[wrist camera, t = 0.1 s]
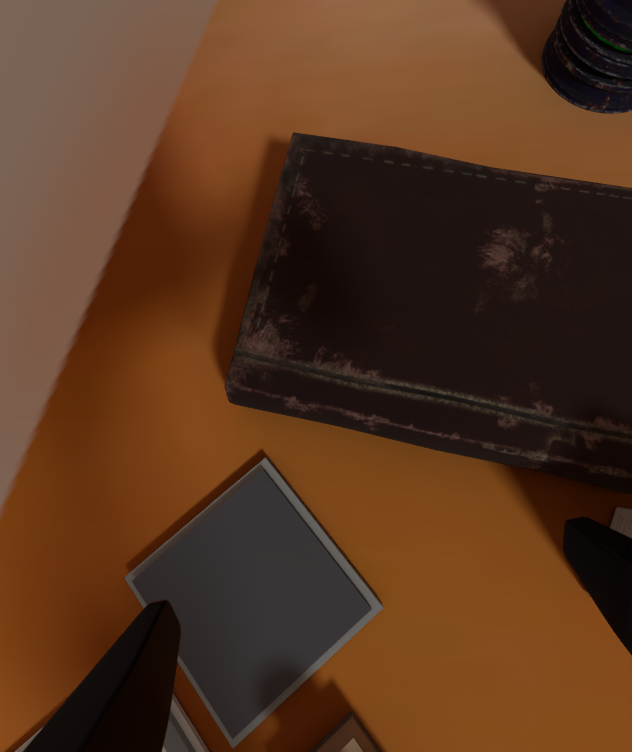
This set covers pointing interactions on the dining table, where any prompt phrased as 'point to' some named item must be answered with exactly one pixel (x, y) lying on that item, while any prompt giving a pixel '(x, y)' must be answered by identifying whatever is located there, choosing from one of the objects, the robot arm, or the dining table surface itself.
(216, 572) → the ink pad
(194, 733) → the print sheet
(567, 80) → the storage jar
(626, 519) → the small box
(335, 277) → the diary
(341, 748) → the stamp
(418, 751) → the dining table surface
